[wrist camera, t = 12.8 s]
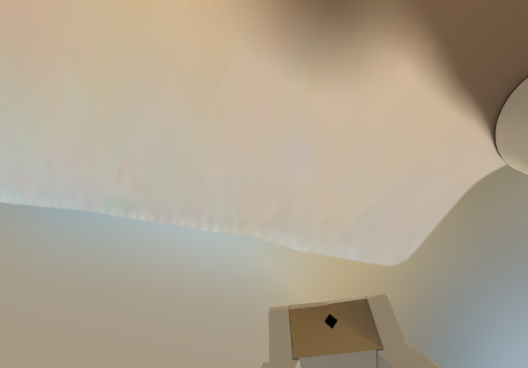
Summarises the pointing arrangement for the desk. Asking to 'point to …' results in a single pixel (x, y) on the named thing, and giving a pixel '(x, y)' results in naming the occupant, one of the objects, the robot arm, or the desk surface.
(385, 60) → the desk surface
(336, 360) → the robot arm
